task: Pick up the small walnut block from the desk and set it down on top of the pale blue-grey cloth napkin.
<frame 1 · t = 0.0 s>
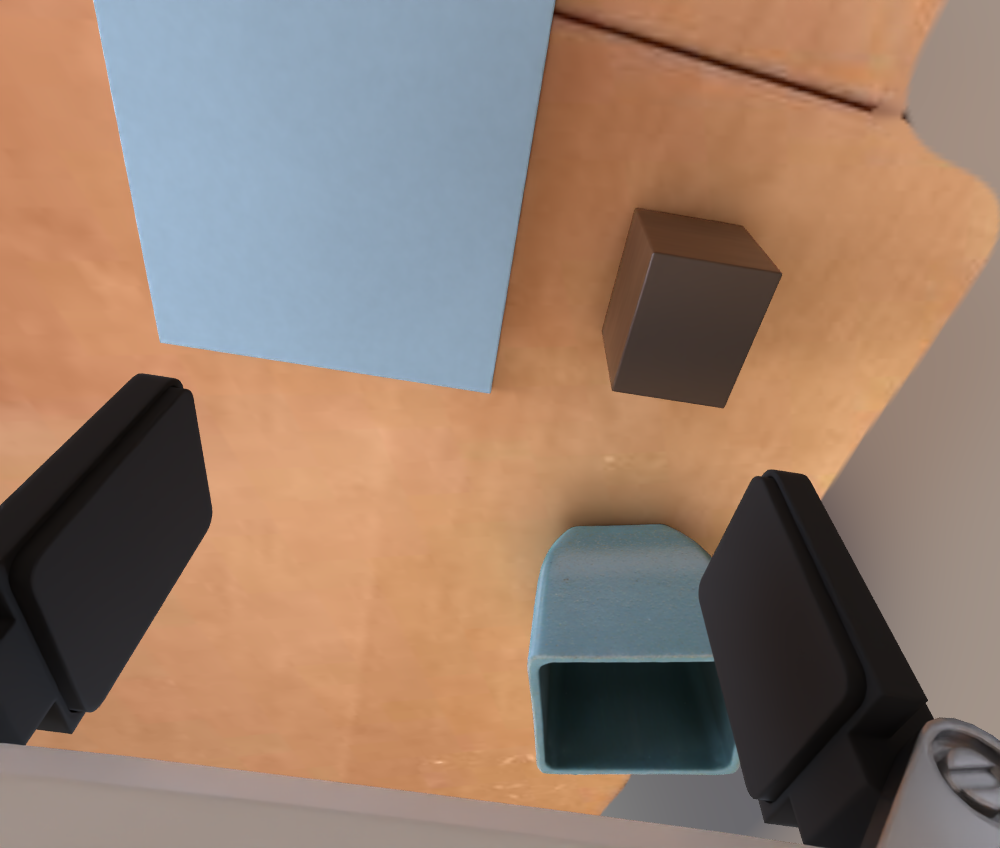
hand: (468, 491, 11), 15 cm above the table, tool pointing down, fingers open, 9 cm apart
flower pot: (618, 553, 33), on the table
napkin: (326, 169, 22), on the table
walnut block: (668, 281, 24), on the table
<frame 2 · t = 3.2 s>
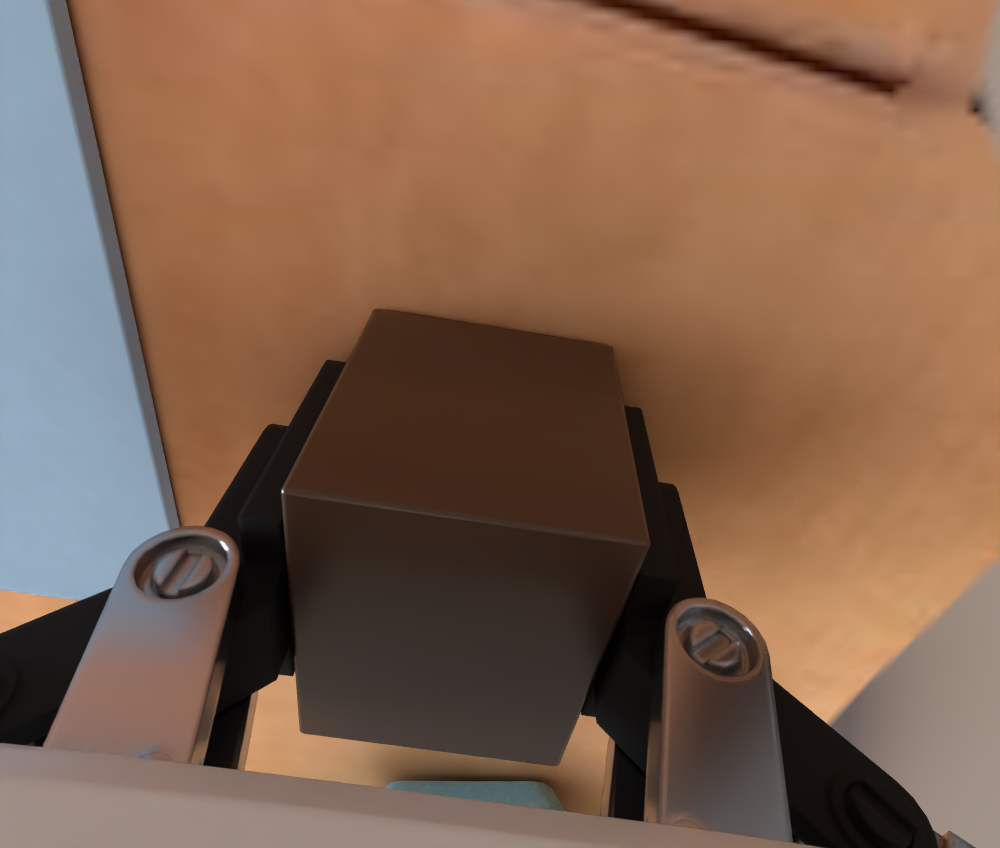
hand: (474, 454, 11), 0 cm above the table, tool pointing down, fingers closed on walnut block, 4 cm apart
flower pot: (480, 803, 21), on the table
walnut block: (475, 444, 12), on the table, touching gripper
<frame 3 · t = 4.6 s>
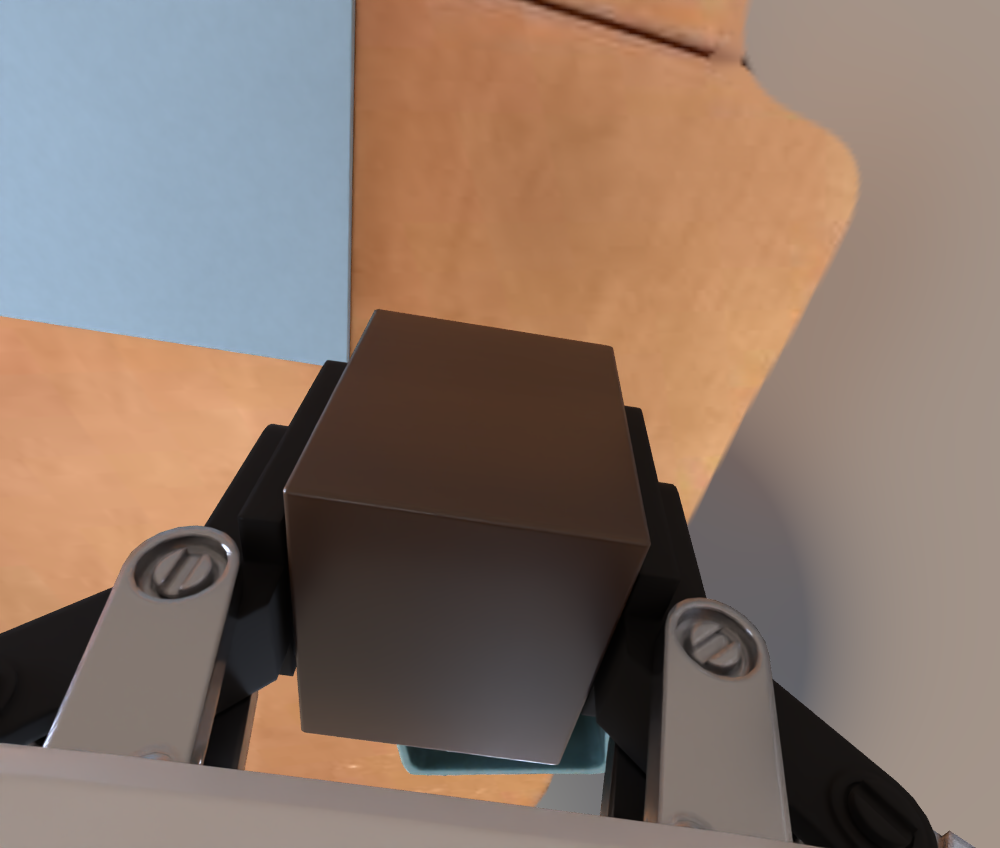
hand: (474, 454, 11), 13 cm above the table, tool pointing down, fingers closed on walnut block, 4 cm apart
flower pot: (507, 542, 31), on the table
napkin: (139, 122, 20), on the table
walnut block: (476, 444, 12), point 13 cm above the table, touching gripper
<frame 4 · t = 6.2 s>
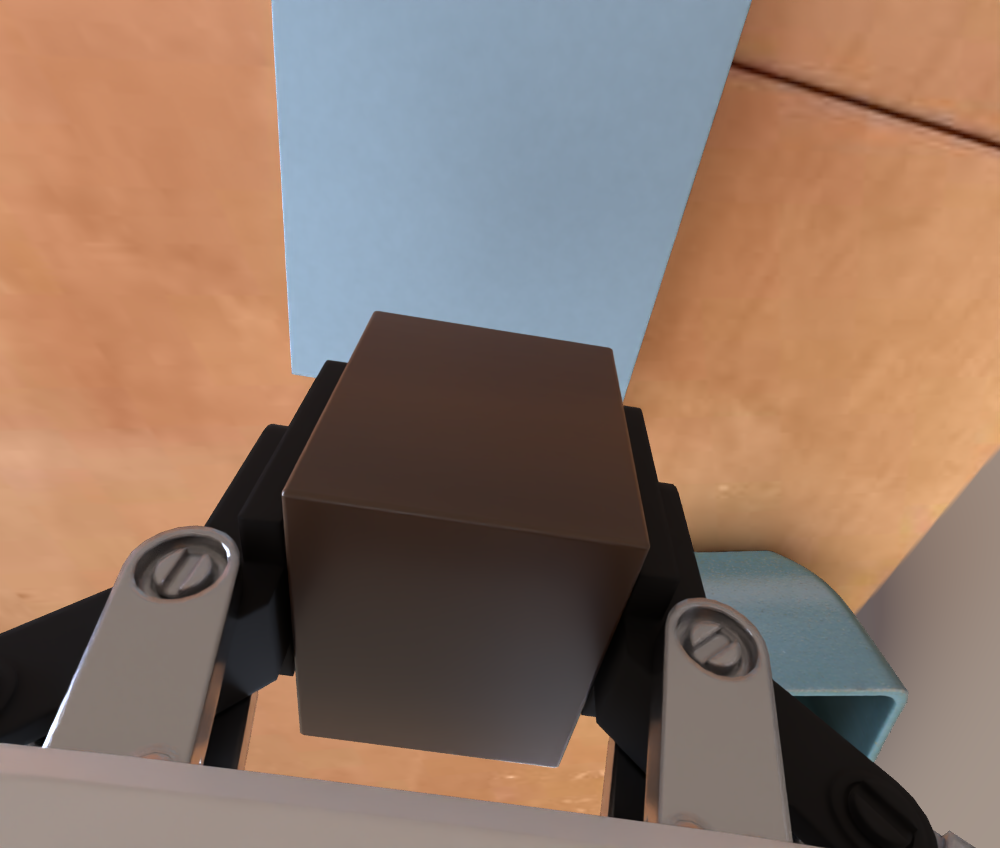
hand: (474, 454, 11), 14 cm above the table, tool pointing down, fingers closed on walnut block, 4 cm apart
flower pot: (718, 578, 33), on the table
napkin: (480, 210, 22), on the table
walnut block: (475, 445, 12), point 13 cm above the table, touching gripper
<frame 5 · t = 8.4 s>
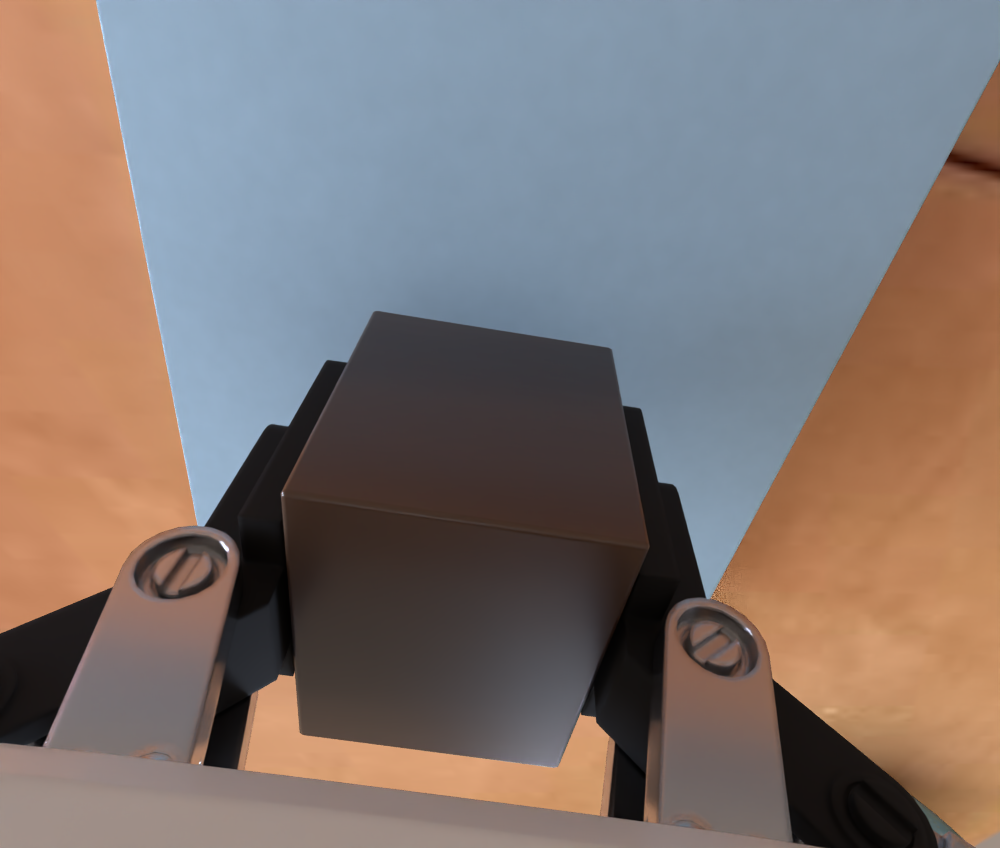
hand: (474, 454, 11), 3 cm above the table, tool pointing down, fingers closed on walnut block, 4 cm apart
flower pot: (807, 798, 24), on the table
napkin: (487, 373, 14), on the table
walnut block: (475, 446, 12), point 3 cm above the table, touching gripper
when the fingers open (1 cm above the table, at t = 9.5 s): walnut block stays where it is, resting on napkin.
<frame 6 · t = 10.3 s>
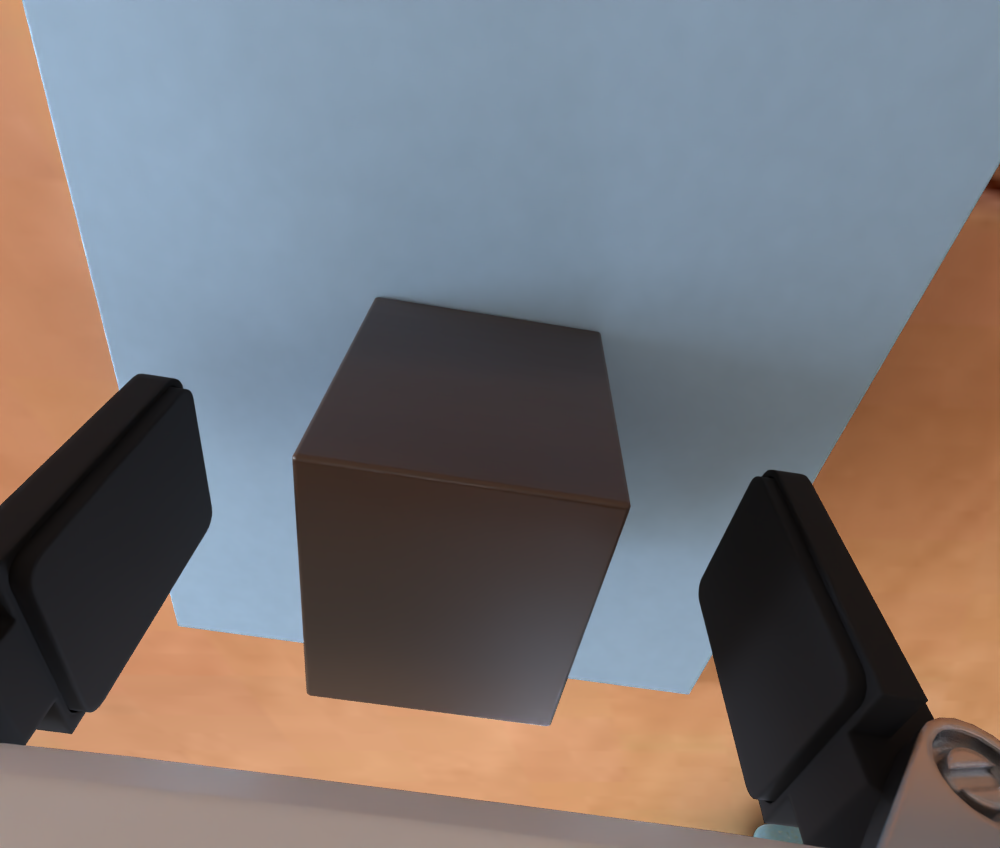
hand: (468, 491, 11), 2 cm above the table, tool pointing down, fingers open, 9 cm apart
flower pot: (817, 841, 23), on the table
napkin: (475, 414, 13), on the table
walnut block: (472, 427, 12), resting on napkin
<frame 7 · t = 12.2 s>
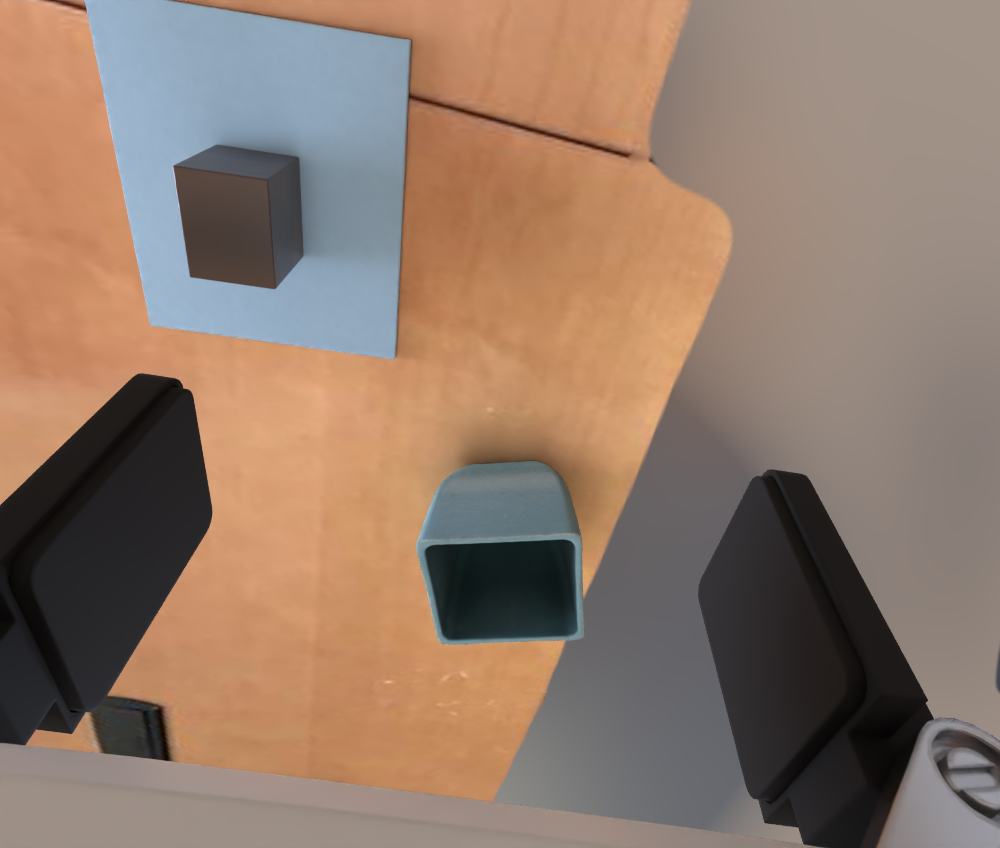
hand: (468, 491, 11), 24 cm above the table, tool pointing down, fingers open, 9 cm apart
flower pot: (508, 487, 42), on the table
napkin: (265, 200, 32), on the table
walnut block: (262, 203, 31), resting on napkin
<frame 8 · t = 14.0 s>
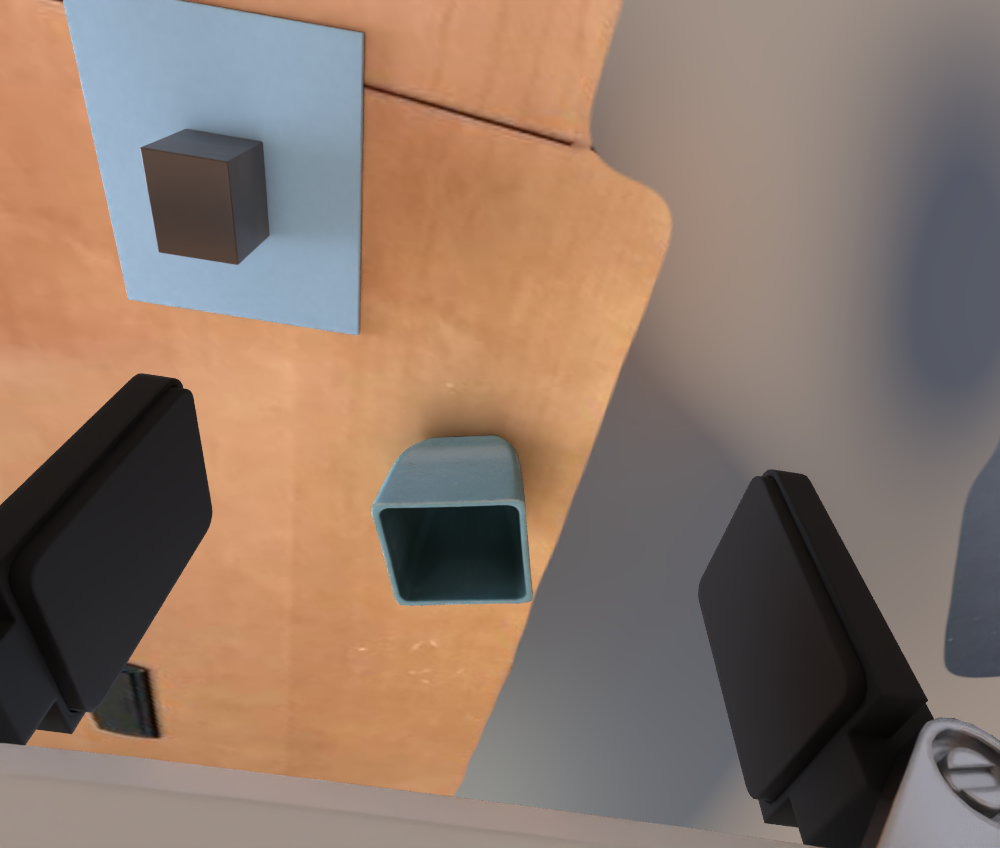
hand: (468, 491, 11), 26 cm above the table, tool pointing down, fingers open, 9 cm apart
flower pot: (470, 460, 44), on the table
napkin: (233, 181, 34), on the table
walnut block: (229, 184, 33), resting on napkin
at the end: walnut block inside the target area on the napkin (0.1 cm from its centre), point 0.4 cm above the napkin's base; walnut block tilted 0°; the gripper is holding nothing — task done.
